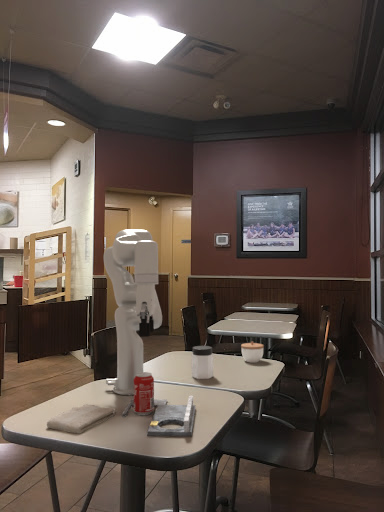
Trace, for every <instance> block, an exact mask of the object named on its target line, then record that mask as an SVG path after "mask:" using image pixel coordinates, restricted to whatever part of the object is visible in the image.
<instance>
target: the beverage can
mask: <svg viewBox="0 0 384 512" xmlns="http://www.w3.org/2000/svg"><path fill="white" fill-rule="evenodd" d="M133 399H134V407H133V411H134V412H135V413H136V414H137V415H139V416H149V415H150V414H152V412H153V411H154V410H155V407H154V399H155V379H154V376H153V375H152V373H151V372H148V371H146V372H144V371H143V372H141V373H137V374H136V377H135V378H134V395H133Z"/></svg>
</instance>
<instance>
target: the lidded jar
mask: <svg viewBox="0 0 384 512" xmlns="http://www.w3.org/2000/svg"><path fill="white" fill-rule="evenodd" d="M264 347H265V345H264V344H262V343H257V342H254V341H251V342H248V343H247V342H246V343H242V344H241V345H240V348H241V354H242V355H241V356H242V357H243V359H244V360H245V362H247V363H253V364H254V363H259V362H260V361H261V359H262V358H263V355H264Z"/></svg>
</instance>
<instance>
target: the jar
mask: <svg viewBox="0 0 384 512" xmlns="http://www.w3.org/2000/svg"><path fill="white" fill-rule="evenodd" d="M191 377H192V378H194V379H197V380H209V379H211V378H212V377H214V353H213V347H212V346H209V345H197V346H192V353H191Z"/></svg>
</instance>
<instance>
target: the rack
mask: <svg viewBox="0 0 384 512" xmlns="http://www.w3.org/2000/svg"><path fill="white" fill-rule="evenodd" d="M195 414H196V405H195V404H194V396H193V395H189V396H188V400H187V404H166V405H158V407H156V409H155V412H154V414H153V417H152V419H151V422H150V423H149V426H148V428H147V431H146V436H147V437H188V438H189V437H192V435H193V429H194V421H195ZM169 424H172V425H173V424H175V425H181V427H178V428H164V427H161V426H163V425H169Z"/></svg>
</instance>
